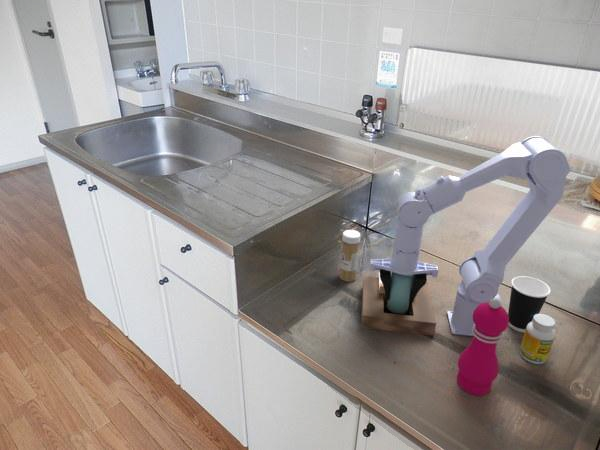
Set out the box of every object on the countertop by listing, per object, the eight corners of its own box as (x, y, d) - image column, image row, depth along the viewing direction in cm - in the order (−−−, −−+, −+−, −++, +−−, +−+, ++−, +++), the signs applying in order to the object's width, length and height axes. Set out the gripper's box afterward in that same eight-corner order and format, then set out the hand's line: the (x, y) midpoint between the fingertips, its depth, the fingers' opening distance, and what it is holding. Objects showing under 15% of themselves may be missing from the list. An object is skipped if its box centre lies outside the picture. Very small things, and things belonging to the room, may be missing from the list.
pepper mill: (472, 402, 84) (495, 316, 75) (446, 375, 90) (465, 292, 81) (501, 391, 86) (527, 306, 77) (474, 365, 92) (495, 284, 83)
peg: (407, 302, 106) (412, 269, 102) (408, 314, 102) (414, 281, 98) (386, 300, 107) (391, 267, 102) (387, 312, 102) (391, 279, 98)
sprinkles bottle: (335, 276, 121) (338, 232, 114) (348, 271, 123) (352, 227, 117) (347, 284, 117) (351, 239, 111) (360, 278, 120) (364, 234, 114)
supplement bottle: (531, 344, 98) (542, 308, 94) (552, 360, 94) (565, 324, 90) (513, 351, 96) (524, 315, 92) (534, 368, 92) (546, 331, 88)
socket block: (426, 293, 114) (428, 282, 113) (433, 335, 100) (436, 323, 99) (362, 287, 116) (363, 276, 115) (361, 327, 102) (362, 315, 100)
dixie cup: (500, 311, 109) (510, 272, 104) (536, 319, 106) (549, 280, 101) (500, 331, 102) (512, 291, 97) (539, 340, 99) (552, 299, 94)
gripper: (438, 241, 100) (429, 291, 106) (372, 235, 101) (367, 285, 107) (443, 257, 93) (432, 310, 99) (372, 251, 95) (366, 303, 101)
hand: (398, 298), depth 103 cm, fingers closed on peg, 5 cm apart
